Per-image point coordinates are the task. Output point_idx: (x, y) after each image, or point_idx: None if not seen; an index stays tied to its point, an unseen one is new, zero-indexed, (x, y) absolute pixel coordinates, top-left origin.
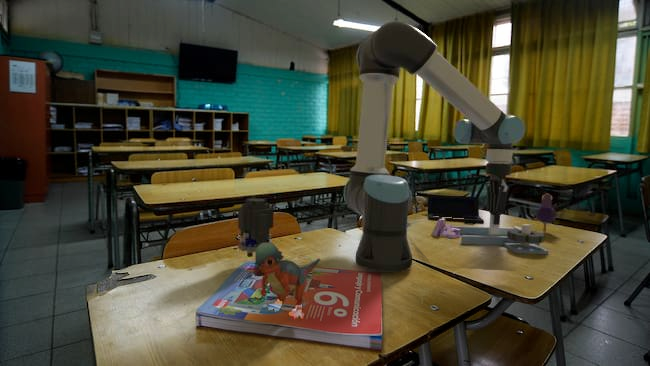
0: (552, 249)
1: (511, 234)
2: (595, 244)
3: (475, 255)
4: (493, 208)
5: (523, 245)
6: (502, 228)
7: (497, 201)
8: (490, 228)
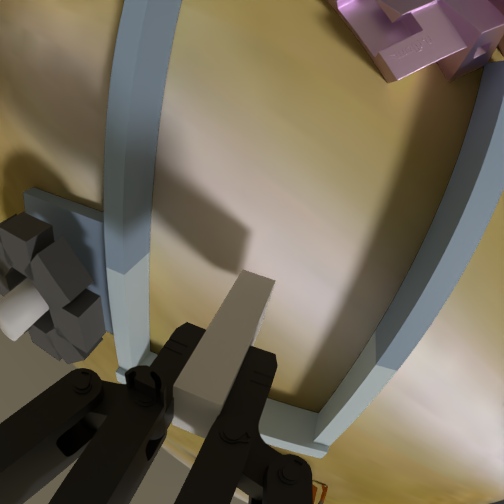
0: (105, 350)
1: (7, 225)
2: (181, 460)
3: (19, 9)
4: (125, 437)
5: None
6: (338, 412)
7: (1, 455)
8: (242, 297)
